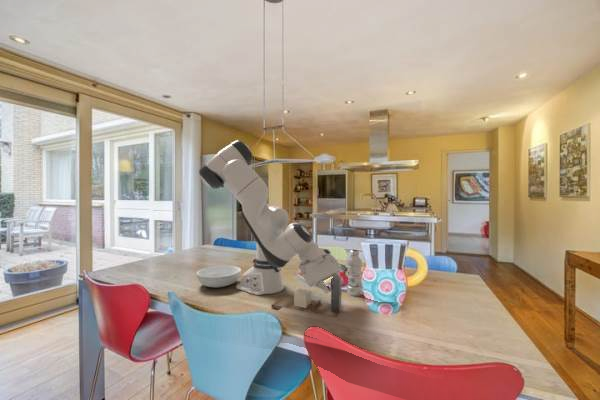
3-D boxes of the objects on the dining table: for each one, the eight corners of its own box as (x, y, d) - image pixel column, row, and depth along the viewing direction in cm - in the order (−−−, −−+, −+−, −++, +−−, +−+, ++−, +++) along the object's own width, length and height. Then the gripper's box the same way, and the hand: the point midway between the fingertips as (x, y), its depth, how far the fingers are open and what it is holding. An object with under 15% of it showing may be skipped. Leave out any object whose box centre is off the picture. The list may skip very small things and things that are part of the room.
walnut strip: (271, 307, 101) (271, 273, 101) (283, 298, 110) (283, 267, 110) (336, 320, 90) (336, 282, 90) (343, 309, 100) (343, 274, 99)
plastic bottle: (351, 300, 109) (351, 252, 108) (344, 294, 115) (344, 249, 115) (365, 298, 110) (365, 251, 110) (357, 292, 117) (357, 248, 117)
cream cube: (294, 305, 100) (294, 292, 100) (299, 301, 104) (299, 288, 104) (306, 308, 98) (306, 294, 98) (310, 303, 102) (310, 290, 102)
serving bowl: (246, 278, 138) (246, 265, 138) (232, 293, 117) (232, 278, 117) (208, 277, 140) (208, 264, 139) (188, 291, 119) (188, 276, 119)
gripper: (302, 258, 93) (325, 292, 87) (331, 248, 109) (352, 276, 103) (292, 269, 95) (314, 302, 90) (322, 258, 112) (342, 285, 106)
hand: (335, 288), depth 97 cm, fingers open, 8 cm apart
